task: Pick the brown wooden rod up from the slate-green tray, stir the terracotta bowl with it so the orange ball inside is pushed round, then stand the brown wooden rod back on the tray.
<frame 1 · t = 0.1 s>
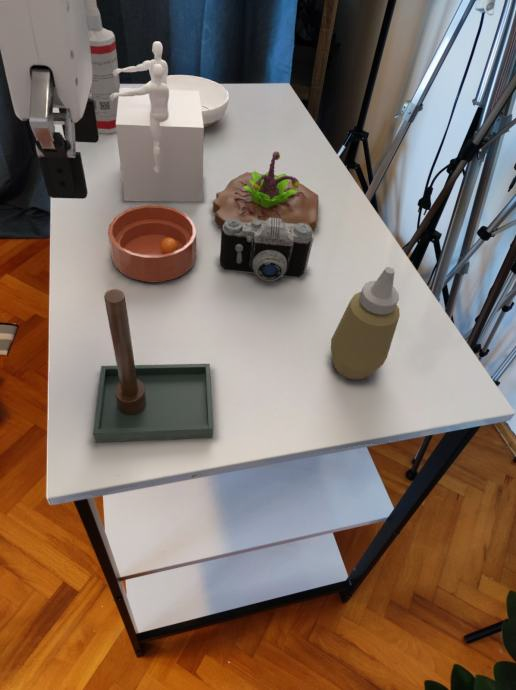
hand: (75, 166, 45), 29 cm above the table, tool pointing down, fingers open, 9 cm apart
plant: (267, 212, 95), on the table
squeeze bottle: (352, 365, 72), on the table
camera: (262, 274, 83), on the table
spray bottle: (106, 126, 111), on the table
bowl: (186, 119, 117), on the table
mixing bowl: (154, 256, 83), on the table
brown wooden rod: (132, 403, 63), point 1 cm above the table, touching spoon tray
spoon tray: (156, 405, 64), on the table
ball: (169, 247, 82), point 2 cm above the table, touching mixing bowl
white figure sculpture: (163, 186, 97), on the table
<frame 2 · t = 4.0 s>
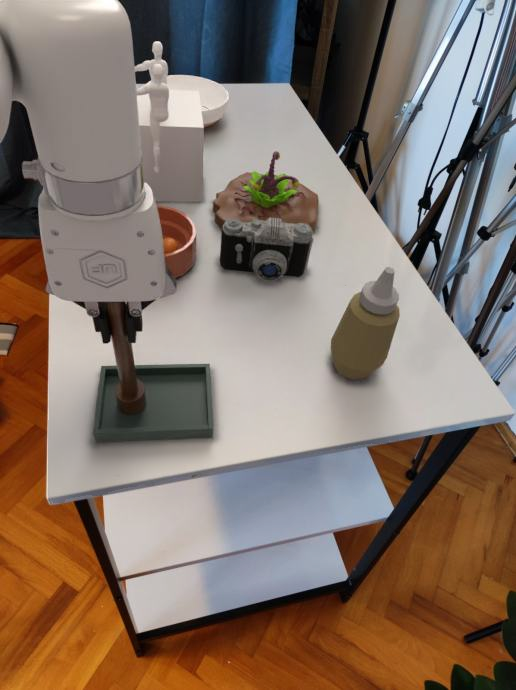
hand: (120, 332, 53), 14 cm above the table, tool pointing down, fingers closed on brown wooden rod, 2 cm apart
brown wooden rod: (132, 403, 63), point 1 cm above the table, touching gripper, spoon tray
everything else where it was.
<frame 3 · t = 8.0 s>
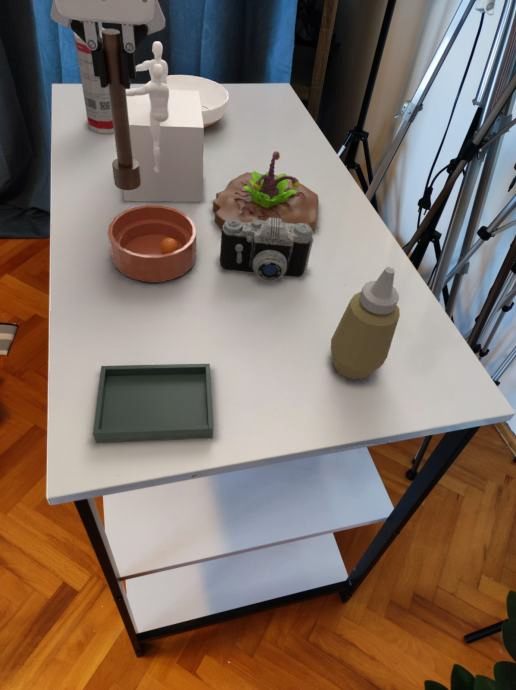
hand: (116, 82, 59), 29 cm above the table, tool pointing down, fingers closed on brown wooden rod
brown wooden rod: (127, 183, 69), point 15 cm above the table, touching gripper
everything else where it was.
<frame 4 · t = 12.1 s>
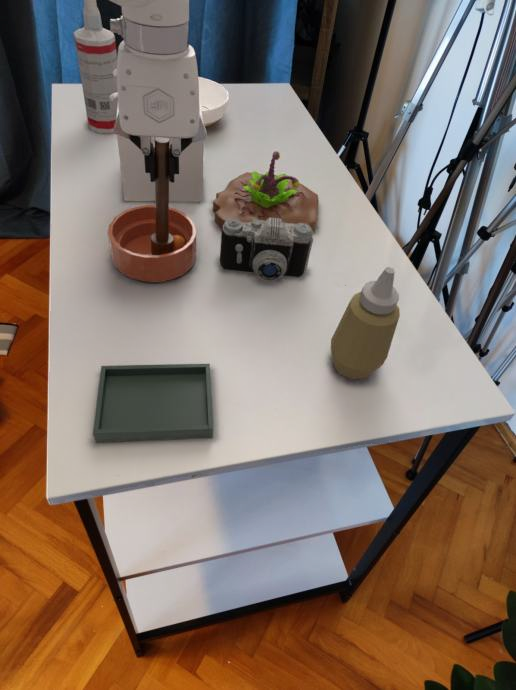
hand: (162, 176, 71), 15 cm above the table, tool pointing down, fingers closed on brown wooden rod, 2 cm apart
brown wooden rod: (162, 253, 81), point 2 cm above the table, touching ball, gripper
ball: (177, 243, 82), point 2 cm above the table, tilted 57°, touching mixing bowl, brown wooden rod
everything else where it was.
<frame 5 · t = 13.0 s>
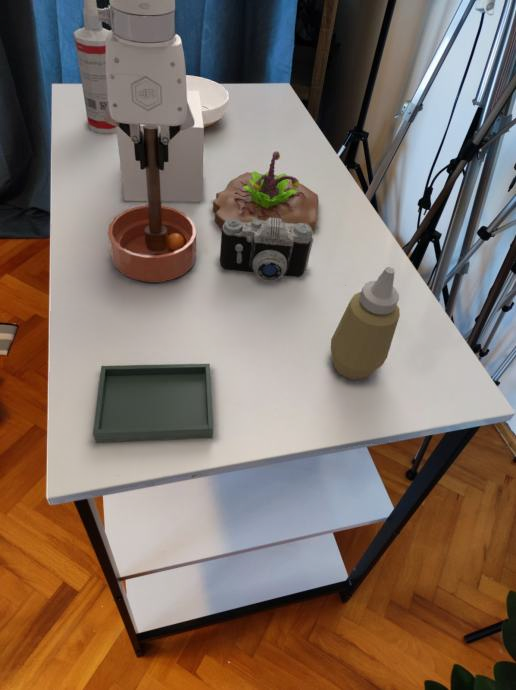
hand: (152, 164, 73), 16 cm above the table, tool pointing down, fingers closed on brown wooden rod, 2 cm apart
brown wooden rod: (156, 245, 81), point 2 cm above the table, tilted 8°, touching gripper
ball: (175, 242, 83), point 2 cm above the table, tilted 59°, touching mixing bowl
everything else where it was.
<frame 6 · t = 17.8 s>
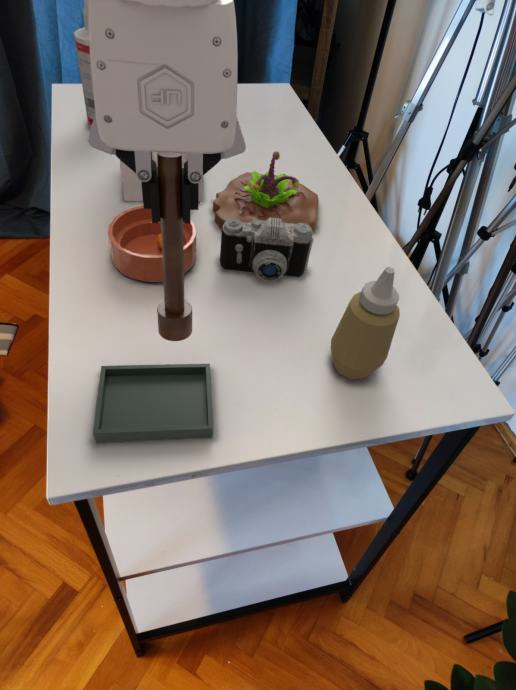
hand: (171, 213, 44), 28 cm above the table, tool pointing down, fingers closed on brown wooden rod
brown wooden rod: (175, 330, 53), point 15 cm above the table, tilted 8°, touching gripper
ball: (165, 241, 83), point 2 cm above the table, tilted 32°, touching mixing bowl
everything else where it was.
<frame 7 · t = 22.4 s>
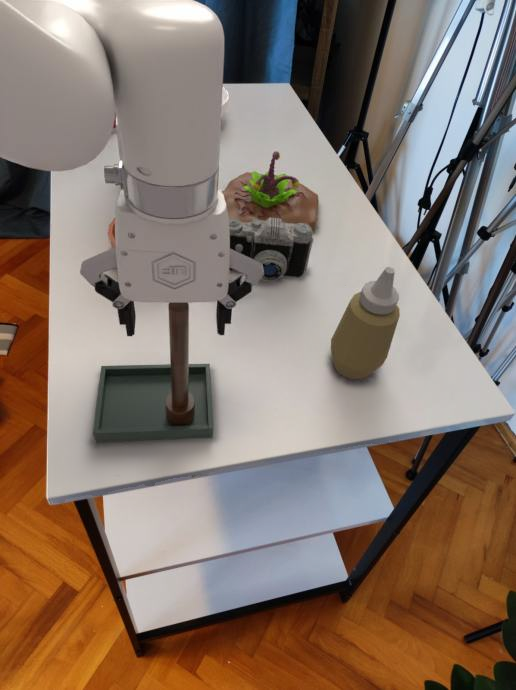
hand: (176, 326, 53), 15 cm above the table, tool pointing down, fingers open, 9 cm apart
brown wooden rod: (180, 415, 62), point 1 cm above the table, touching spoon tray
ball: (155, 240, 82), point 2 cm above the table, tilted 77°, touching mixing bowl
everything else where it was.
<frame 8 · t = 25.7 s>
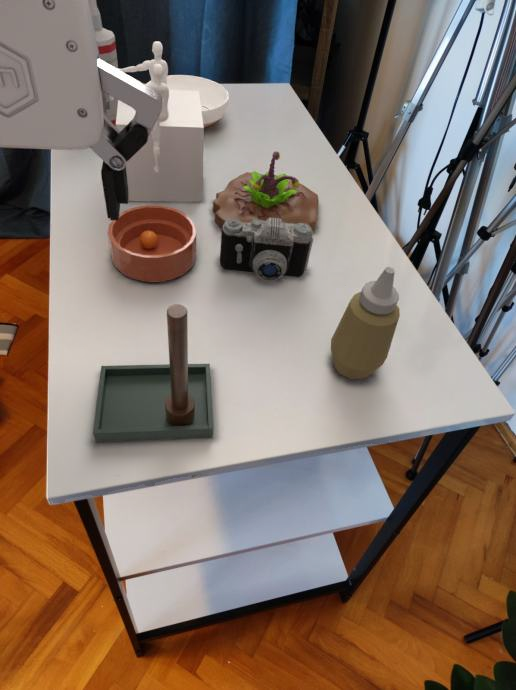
hand: (47, 208, 36), 32 cm above the table, tool pointing down, fingers open, 9 cm apart
ball: (148, 239, 82), point 2 cm above the table, tilted 115°, touching mixing bowl
everything else where it was.
at the end: ball moved 3.9 cm from its start; ball inside the target area in the mixing bowl (2.1 cm from its centre), point 2.1 cm above the mixing bowl's base; brown wooden rod inside the target area in the spoon tray (3.7 cm from its centre), point 0.6 cm above the spoon tray's base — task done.
